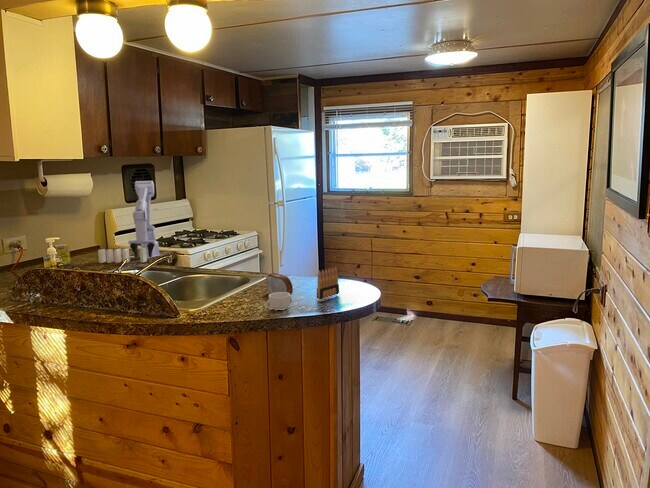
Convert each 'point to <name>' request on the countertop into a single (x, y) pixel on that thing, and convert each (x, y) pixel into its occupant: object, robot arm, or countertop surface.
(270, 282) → the grey brown rounded slab
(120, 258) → the domino
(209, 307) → the countertop surface
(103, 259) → the domino
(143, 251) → the domino
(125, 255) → the domino
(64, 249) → the supplement box
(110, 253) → the domino
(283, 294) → the teacup
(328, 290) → the ammunition clip
